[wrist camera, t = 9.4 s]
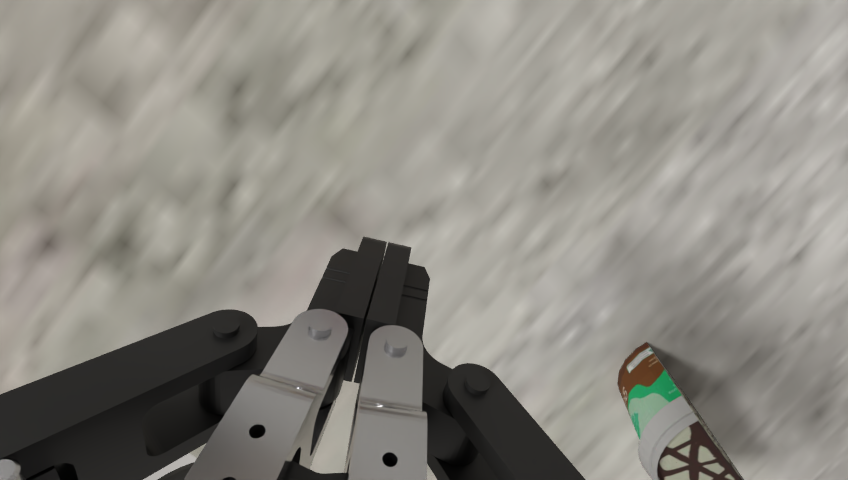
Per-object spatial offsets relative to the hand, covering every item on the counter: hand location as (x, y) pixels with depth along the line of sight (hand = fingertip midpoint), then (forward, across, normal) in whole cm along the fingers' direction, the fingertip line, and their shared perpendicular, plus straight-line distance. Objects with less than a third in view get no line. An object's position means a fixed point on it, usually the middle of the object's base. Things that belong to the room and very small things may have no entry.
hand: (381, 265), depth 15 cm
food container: (+22, -26, +24) cm, 42 cm away
